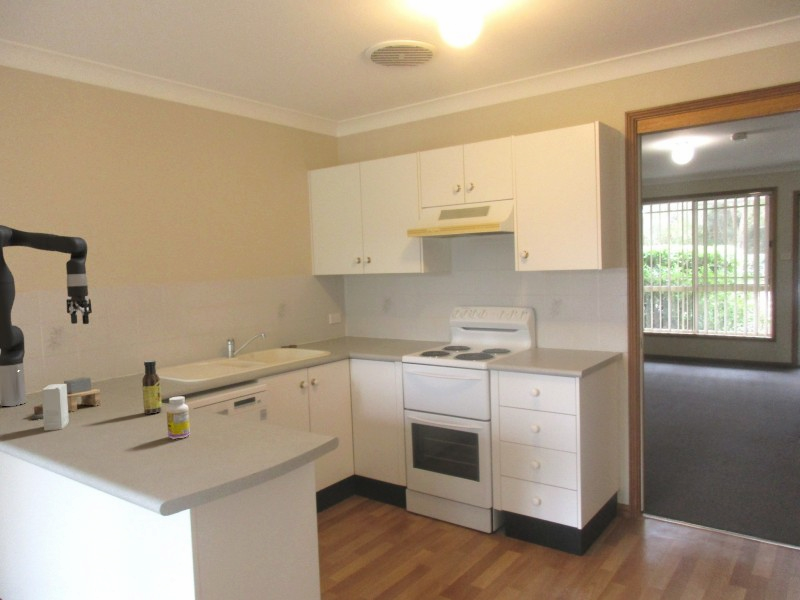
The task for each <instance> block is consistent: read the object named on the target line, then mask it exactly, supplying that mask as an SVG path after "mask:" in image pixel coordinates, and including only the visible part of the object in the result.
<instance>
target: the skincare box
mask: <svg viewBox="0 0 800 600" xmlns="http://www.w3.org/2000/svg"><path fill="white" fill-rule="evenodd" d="M41 396H42V399H41V400H42V404H43V418H44V419H43V430H44V431H56V430H58V429H59V430H63V429H64V428H65V427H66V426H67V425H68V424H69V411H68V401H67V384H64V383H57V384H55V383H53V384H48V385H47V386H46V387H45V386H44V388H42V389H41Z"/></svg>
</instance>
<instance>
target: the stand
mask: <svg viewBox="0 0 800 600" xmlns="http://www.w3.org/2000/svg"><path fill="white" fill-rule="evenodd" d="M100 395H101V389H96V388H91V390H90V391H85V392H81V393H76V394H67V401H68V412H69V411H71V413H73V412H72V411H74V412H77V411H78V403H77V401H78V400H77V398H78V397H80V399H81V405H84V404H87V405H86V406H90V405H94V406H93V407H98V406H97V405H100V406H101V396H100Z"/></svg>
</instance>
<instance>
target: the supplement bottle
mask: <svg viewBox="0 0 800 600" xmlns="http://www.w3.org/2000/svg"><path fill="white" fill-rule="evenodd" d="M168 402H169V406H167V408H166V421H167V435H168V438H169V437H170V438H180V437H185V436H187V435H189V434H190V435H191V429H190V412H189V410H190V409H189V406H188V405H187V404H185V402H186V401H185V396H173V397H170V398H168ZM190 435H189V436H190ZM170 438H169V439H170Z"/></svg>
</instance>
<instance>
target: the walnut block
mask: <svg viewBox="0 0 800 600" xmlns="http://www.w3.org/2000/svg"><path fill="white" fill-rule="evenodd" d="M33 412H34V414H33V415H37V414H43V403H42V404H38V405H35V406H34V407H33Z"/></svg>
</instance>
